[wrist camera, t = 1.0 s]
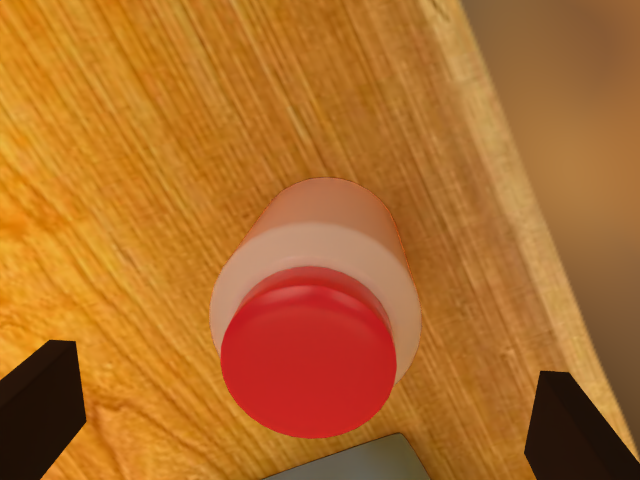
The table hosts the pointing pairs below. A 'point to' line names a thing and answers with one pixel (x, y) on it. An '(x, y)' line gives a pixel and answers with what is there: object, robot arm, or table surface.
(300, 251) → the pill bottle
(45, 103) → the table surface
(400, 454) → the container
